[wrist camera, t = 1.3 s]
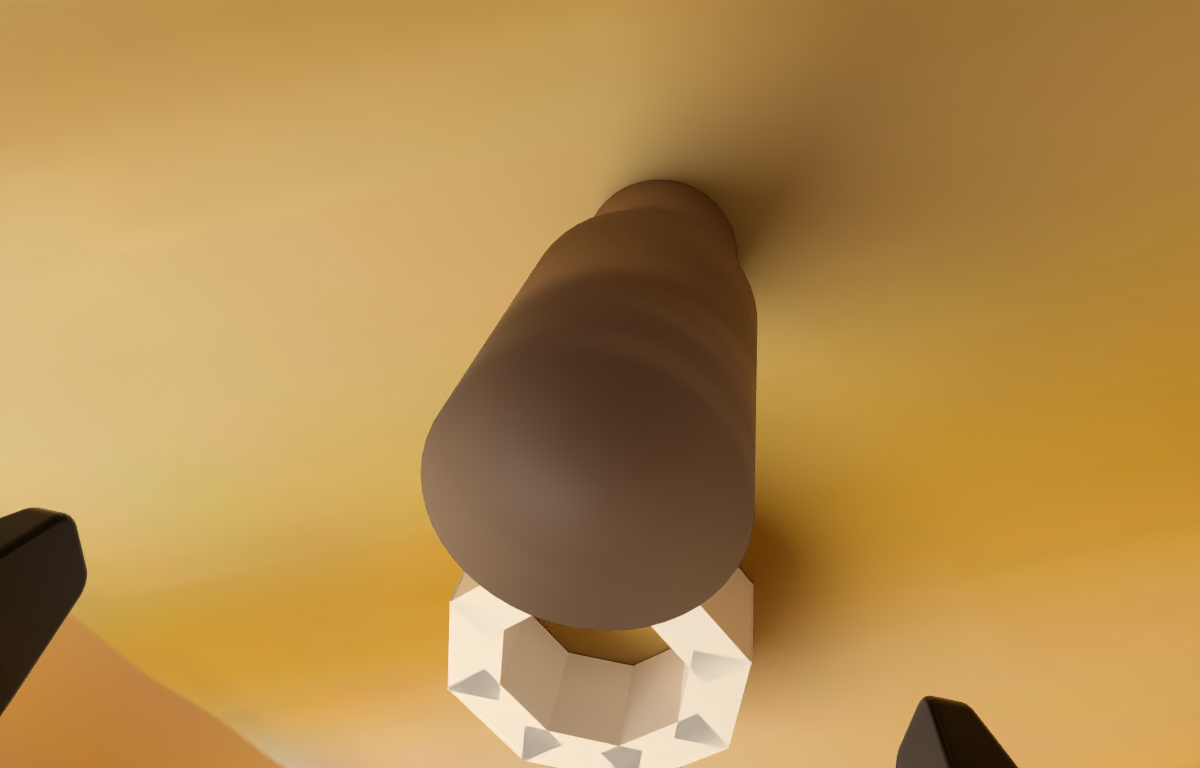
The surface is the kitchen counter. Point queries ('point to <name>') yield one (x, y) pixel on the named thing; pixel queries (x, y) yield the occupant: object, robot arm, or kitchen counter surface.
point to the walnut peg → (608, 422)
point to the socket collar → (603, 683)
